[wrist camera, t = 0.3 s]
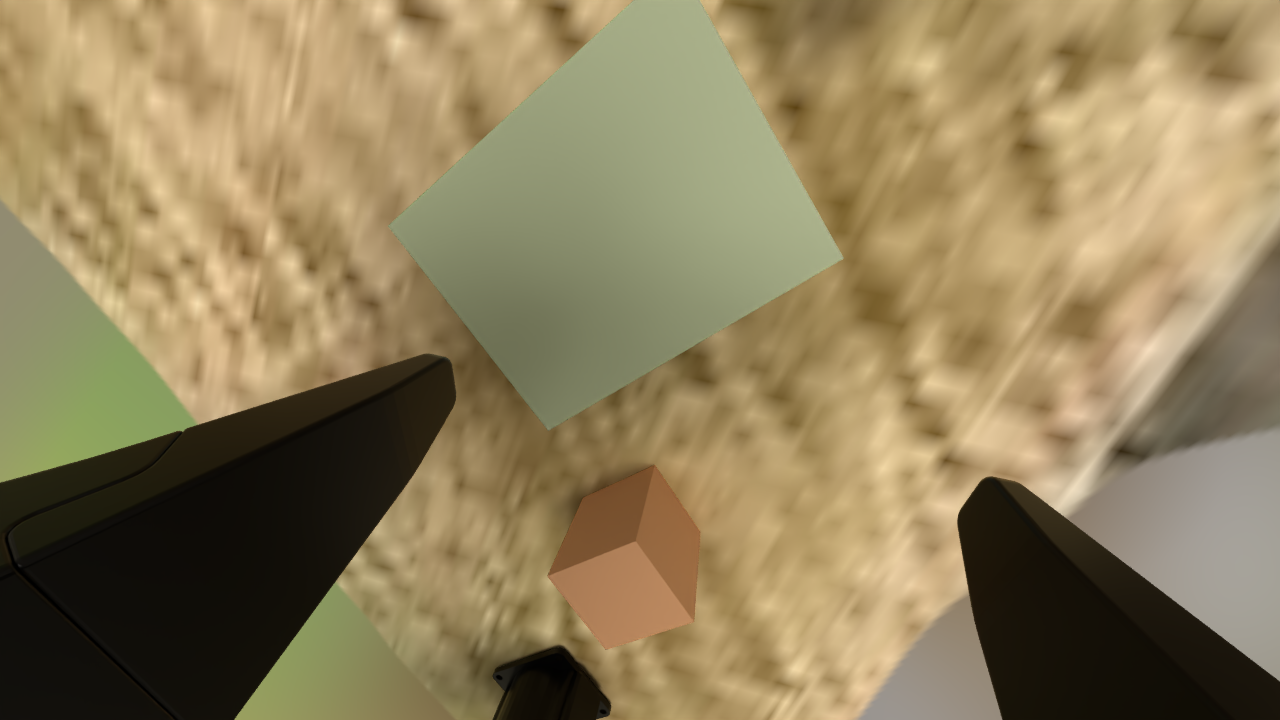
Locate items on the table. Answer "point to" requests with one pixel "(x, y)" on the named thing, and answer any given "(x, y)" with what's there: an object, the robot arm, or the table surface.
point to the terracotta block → (630, 560)
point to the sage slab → (618, 214)
